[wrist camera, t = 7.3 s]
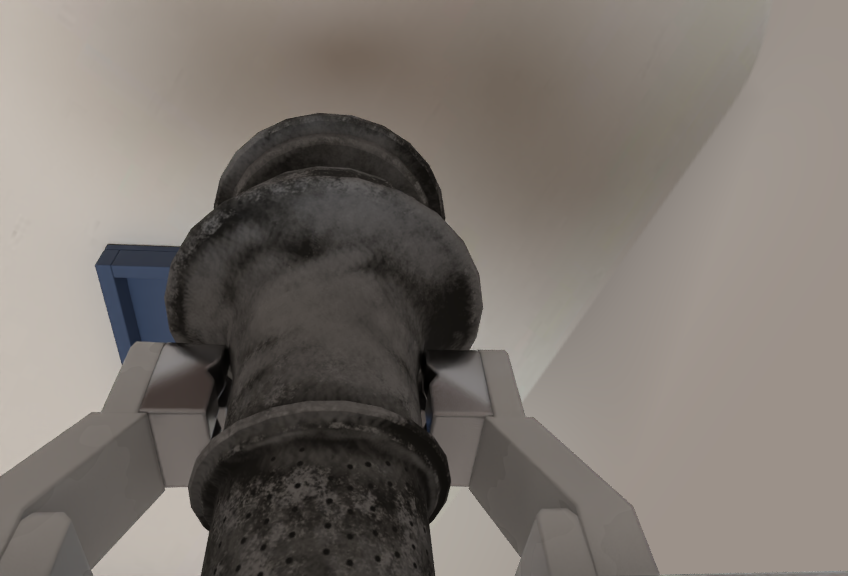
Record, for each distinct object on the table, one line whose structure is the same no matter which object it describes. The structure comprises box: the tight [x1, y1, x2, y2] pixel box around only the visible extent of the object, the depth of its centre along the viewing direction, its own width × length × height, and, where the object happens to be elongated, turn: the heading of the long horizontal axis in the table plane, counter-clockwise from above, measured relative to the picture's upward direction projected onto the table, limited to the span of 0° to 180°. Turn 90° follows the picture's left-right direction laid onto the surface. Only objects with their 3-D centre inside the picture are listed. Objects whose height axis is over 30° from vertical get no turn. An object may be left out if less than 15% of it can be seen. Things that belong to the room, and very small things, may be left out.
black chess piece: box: [164, 113, 483, 576], centre depth 10 cm, size 6×6×12 cm
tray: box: [95, 245, 180, 365], centre depth 38 cm, size 15×15×2 cm
